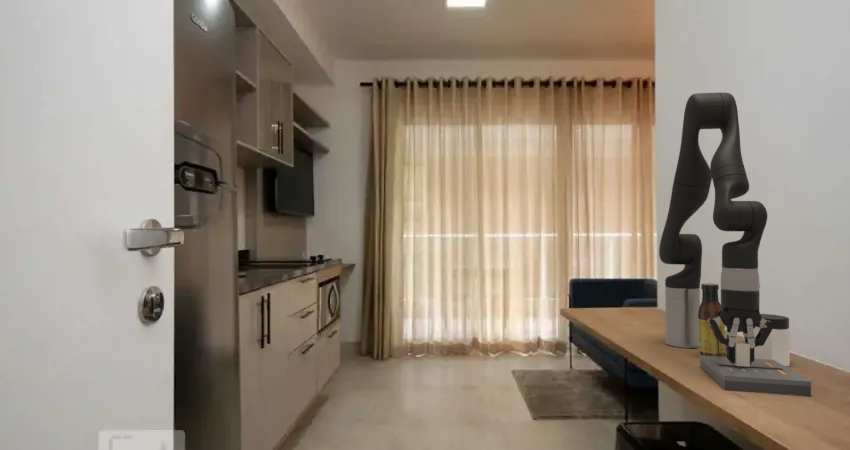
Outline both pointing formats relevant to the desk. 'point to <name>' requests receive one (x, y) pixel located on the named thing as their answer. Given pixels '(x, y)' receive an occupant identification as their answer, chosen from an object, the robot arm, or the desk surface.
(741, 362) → the fader tab
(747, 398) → the desk surface
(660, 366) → the desk surface
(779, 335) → the jar
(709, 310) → the sauce bottle
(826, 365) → the desk surface
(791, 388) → the fader console
